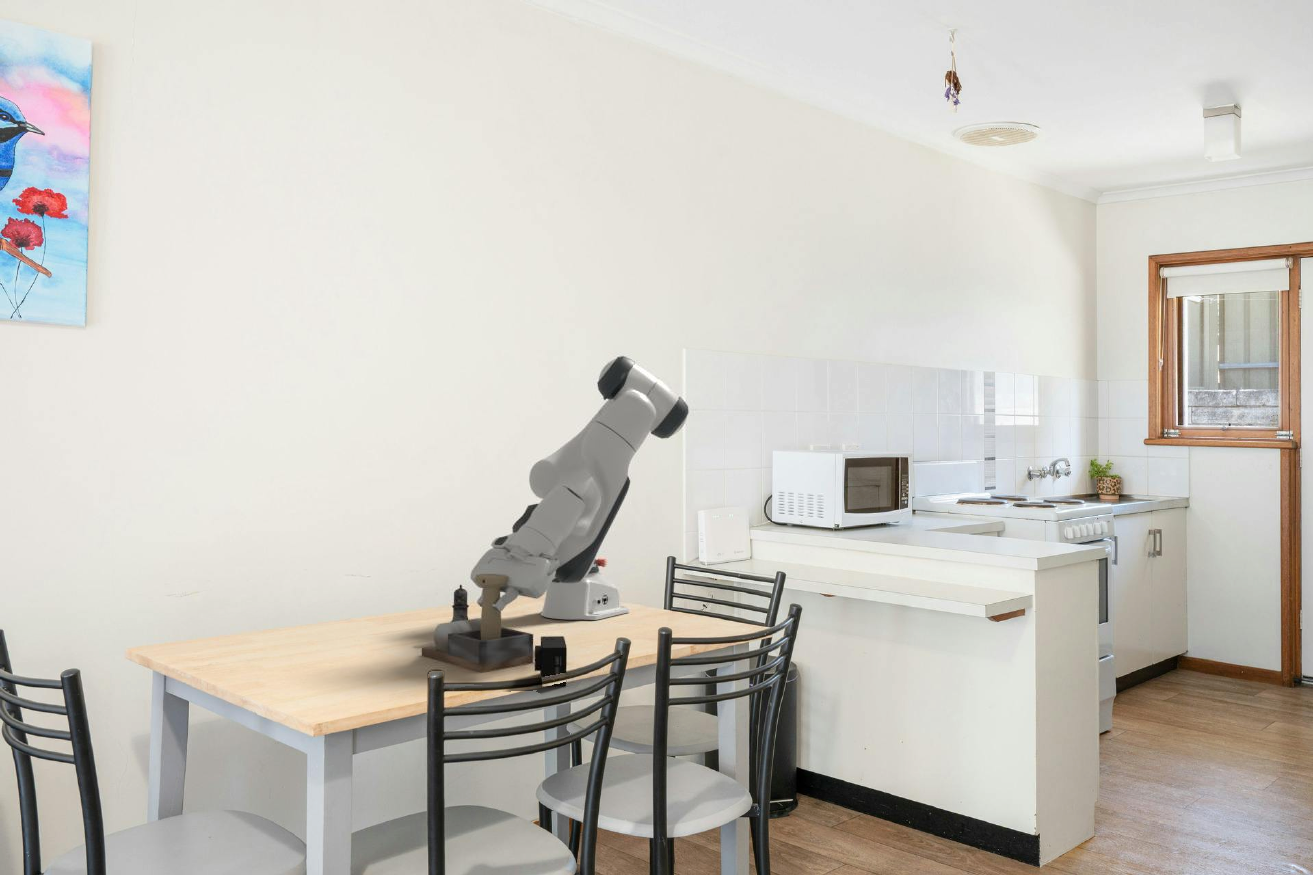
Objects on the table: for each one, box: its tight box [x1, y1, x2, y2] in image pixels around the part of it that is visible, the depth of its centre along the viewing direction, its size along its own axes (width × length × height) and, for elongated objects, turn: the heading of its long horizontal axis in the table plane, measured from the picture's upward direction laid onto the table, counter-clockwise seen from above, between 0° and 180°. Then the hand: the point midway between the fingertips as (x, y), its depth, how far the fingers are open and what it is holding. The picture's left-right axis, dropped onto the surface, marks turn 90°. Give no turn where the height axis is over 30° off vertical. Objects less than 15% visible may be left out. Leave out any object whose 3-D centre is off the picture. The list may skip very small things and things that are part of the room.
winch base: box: [421, 617, 534, 673], centre depth 199 cm, size 12×20×7 cm, turn 46°
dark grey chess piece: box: [450, 584, 470, 622], centre depth 217 cm, size 6×6×12 cm
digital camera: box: [534, 635, 568, 688], centre depth 183 cm, size 10×5×7 cm, turn 8°
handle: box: [476, 574, 508, 641], centre depth 196 cm, size 5×6×15 cm
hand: (488, 606), depth 196 cm, fingers closed on handle, 3 cm apart
